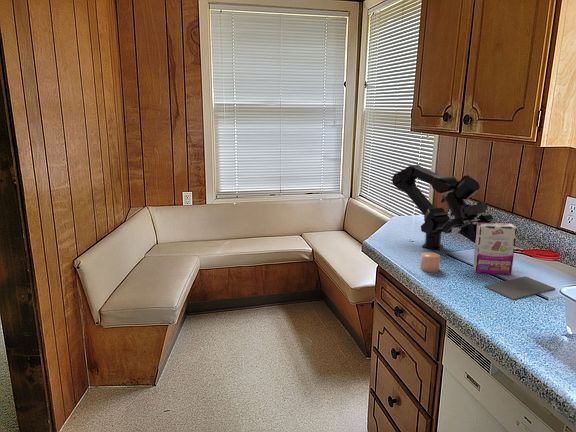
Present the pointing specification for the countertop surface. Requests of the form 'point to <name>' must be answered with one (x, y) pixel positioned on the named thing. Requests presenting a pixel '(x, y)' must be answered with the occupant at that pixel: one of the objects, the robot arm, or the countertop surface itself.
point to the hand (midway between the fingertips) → (479, 244)
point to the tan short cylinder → (430, 262)
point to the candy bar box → (494, 248)
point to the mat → (519, 287)
